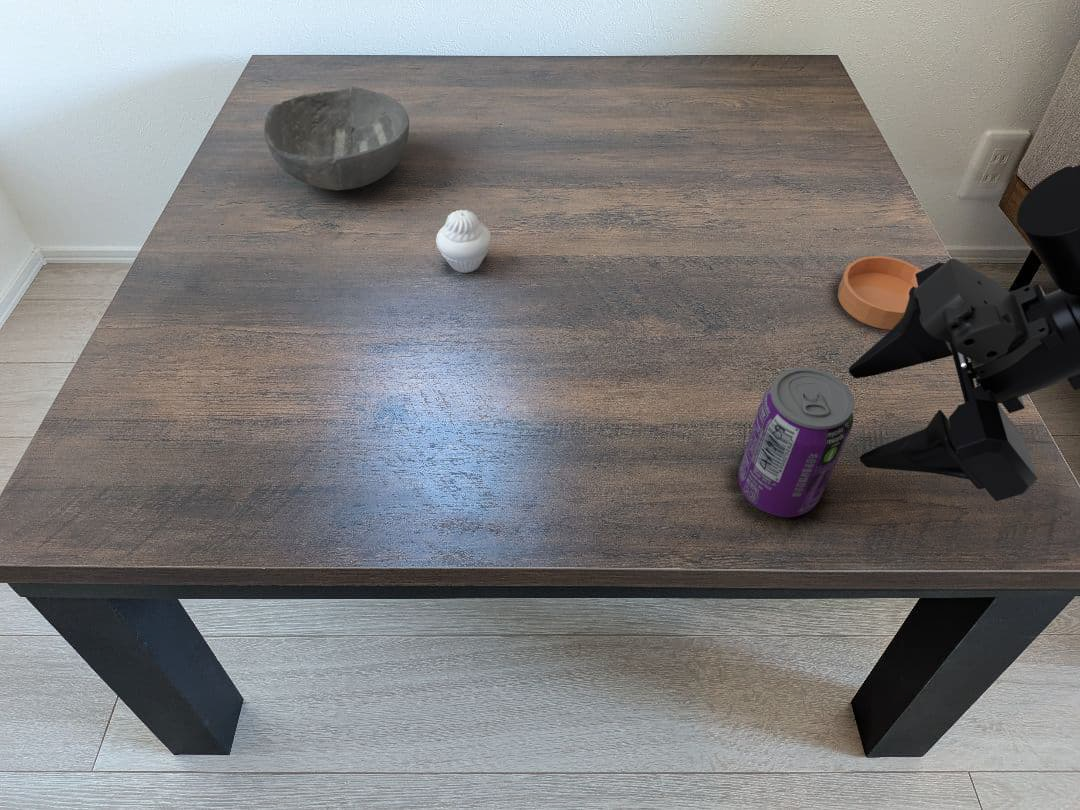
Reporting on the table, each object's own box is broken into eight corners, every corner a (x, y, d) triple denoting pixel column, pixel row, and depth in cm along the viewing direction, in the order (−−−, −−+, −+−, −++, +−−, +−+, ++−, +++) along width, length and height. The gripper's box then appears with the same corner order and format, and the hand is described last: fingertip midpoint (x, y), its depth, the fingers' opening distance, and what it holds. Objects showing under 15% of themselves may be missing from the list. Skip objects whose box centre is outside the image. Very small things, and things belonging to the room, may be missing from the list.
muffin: (435, 252, 91) (428, 200, 86) (486, 244, 92) (483, 192, 87) (444, 285, 87) (437, 233, 82) (497, 276, 88) (495, 224, 83)
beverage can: (827, 522, 66) (871, 431, 57) (742, 521, 66) (774, 430, 58) (809, 456, 71) (848, 363, 62) (731, 455, 71) (758, 361, 62)
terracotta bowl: (921, 279, 88) (930, 261, 86) (932, 335, 82) (941, 317, 80) (835, 269, 89) (841, 251, 87) (839, 323, 83) (846, 305, 81)
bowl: (419, 208, 97) (411, 149, 91) (273, 221, 95) (255, 162, 89) (412, 134, 109) (404, 78, 103) (282, 145, 107) (267, 88, 101)
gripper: (998, 164, 54) (794, 274, 63) (1074, 352, 41) (806, 453, 51) (1062, 269, 59) (864, 355, 68) (1146, 464, 46) (891, 536, 56)
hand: (856, 415), depth 61 cm, fingers open, 9 cm apart
